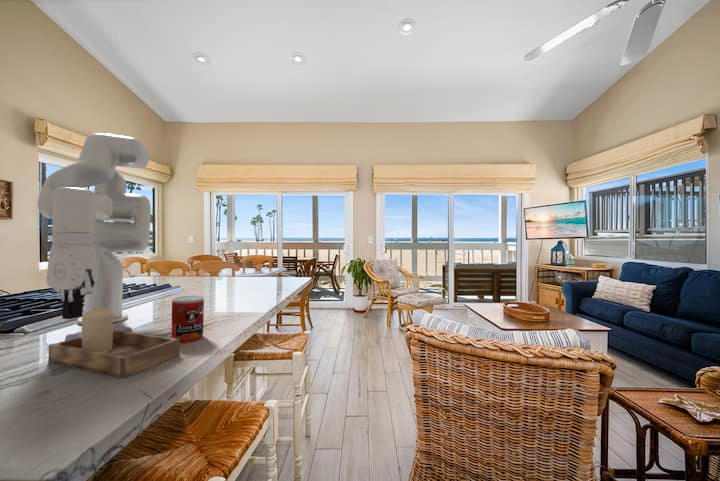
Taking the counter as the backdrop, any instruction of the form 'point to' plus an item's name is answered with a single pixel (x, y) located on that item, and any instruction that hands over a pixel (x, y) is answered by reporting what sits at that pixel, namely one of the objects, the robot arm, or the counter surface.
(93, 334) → the candle
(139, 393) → the counter surface
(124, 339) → the tray
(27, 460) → the counter surface
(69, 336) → the stone block
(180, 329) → the canned food
